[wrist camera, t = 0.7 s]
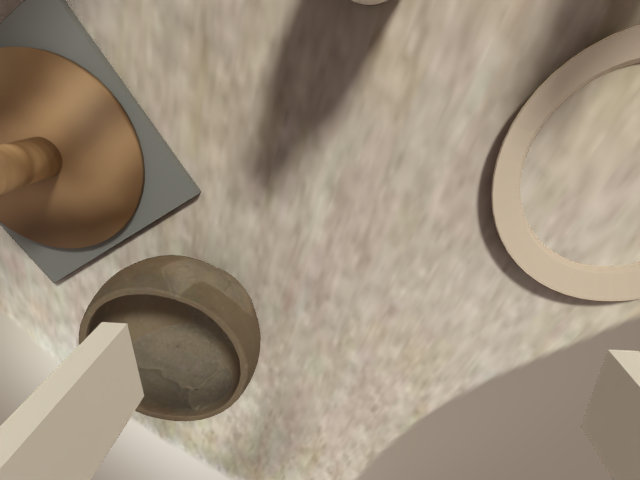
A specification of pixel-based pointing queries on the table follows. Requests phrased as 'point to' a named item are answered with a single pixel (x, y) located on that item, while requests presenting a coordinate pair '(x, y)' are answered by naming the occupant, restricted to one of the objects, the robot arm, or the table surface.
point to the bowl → (182, 334)
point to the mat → (160, 162)
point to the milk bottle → (369, 1)
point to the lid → (64, 152)
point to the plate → (505, 193)
